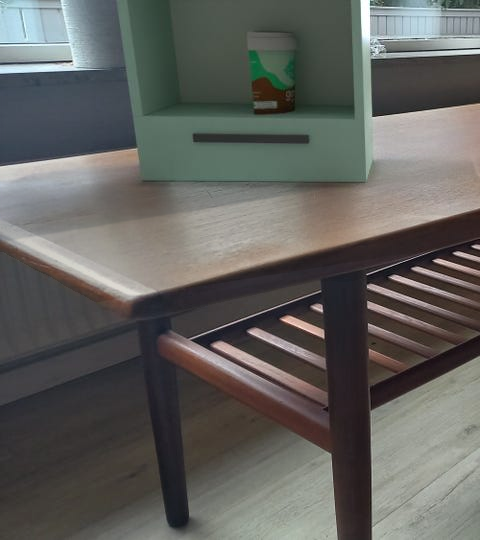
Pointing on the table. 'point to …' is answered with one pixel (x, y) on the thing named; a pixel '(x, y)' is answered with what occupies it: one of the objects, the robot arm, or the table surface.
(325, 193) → the table surface
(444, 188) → the table surface
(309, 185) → the table surface
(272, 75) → the food container
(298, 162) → the mint green cubby cabinet
